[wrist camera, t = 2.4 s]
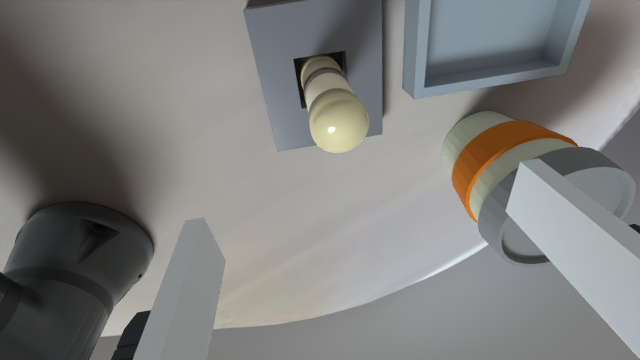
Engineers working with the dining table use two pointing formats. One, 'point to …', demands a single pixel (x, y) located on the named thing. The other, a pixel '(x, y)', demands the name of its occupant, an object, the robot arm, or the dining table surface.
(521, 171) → the robot arm
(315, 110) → the cylinder
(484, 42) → the parts tray
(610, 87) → the dining table surface
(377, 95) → the block
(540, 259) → the reusable coffee cup
